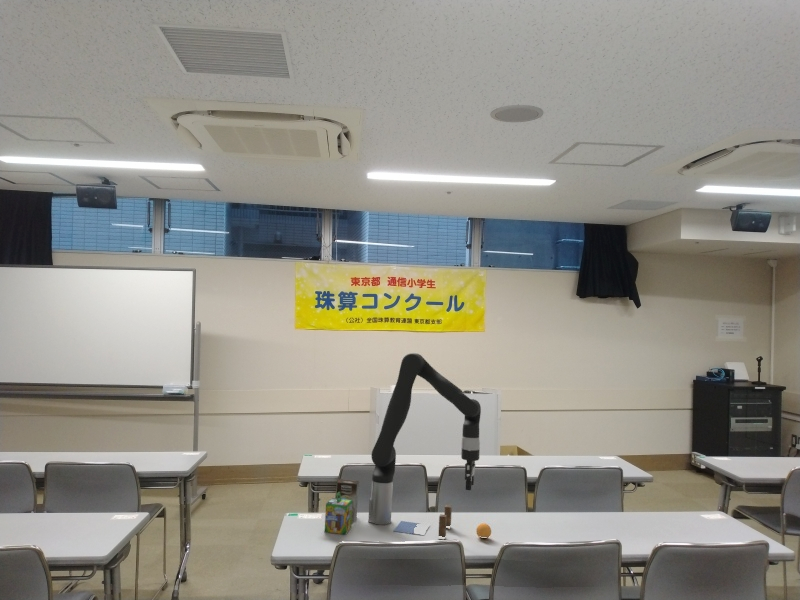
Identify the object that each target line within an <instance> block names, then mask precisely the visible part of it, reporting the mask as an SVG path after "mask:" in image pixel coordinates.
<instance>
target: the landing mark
mask: <svg viewBox="0 0 800 600" xmlns="http://www.w3.org/2000/svg"><path fill="white" fill-rule="evenodd" d="M417 524H420V523H419V522H411V521H405V520H404V521H403V520H400V522H399V523H398V524H397V526H396V527H395V528H394V529H393V533H401V534H402V533H403V534H408V533H411V534H410V535H415V534H414V528H415V527H417V526H416V525H417ZM412 533H413V534H412Z"/></svg>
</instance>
